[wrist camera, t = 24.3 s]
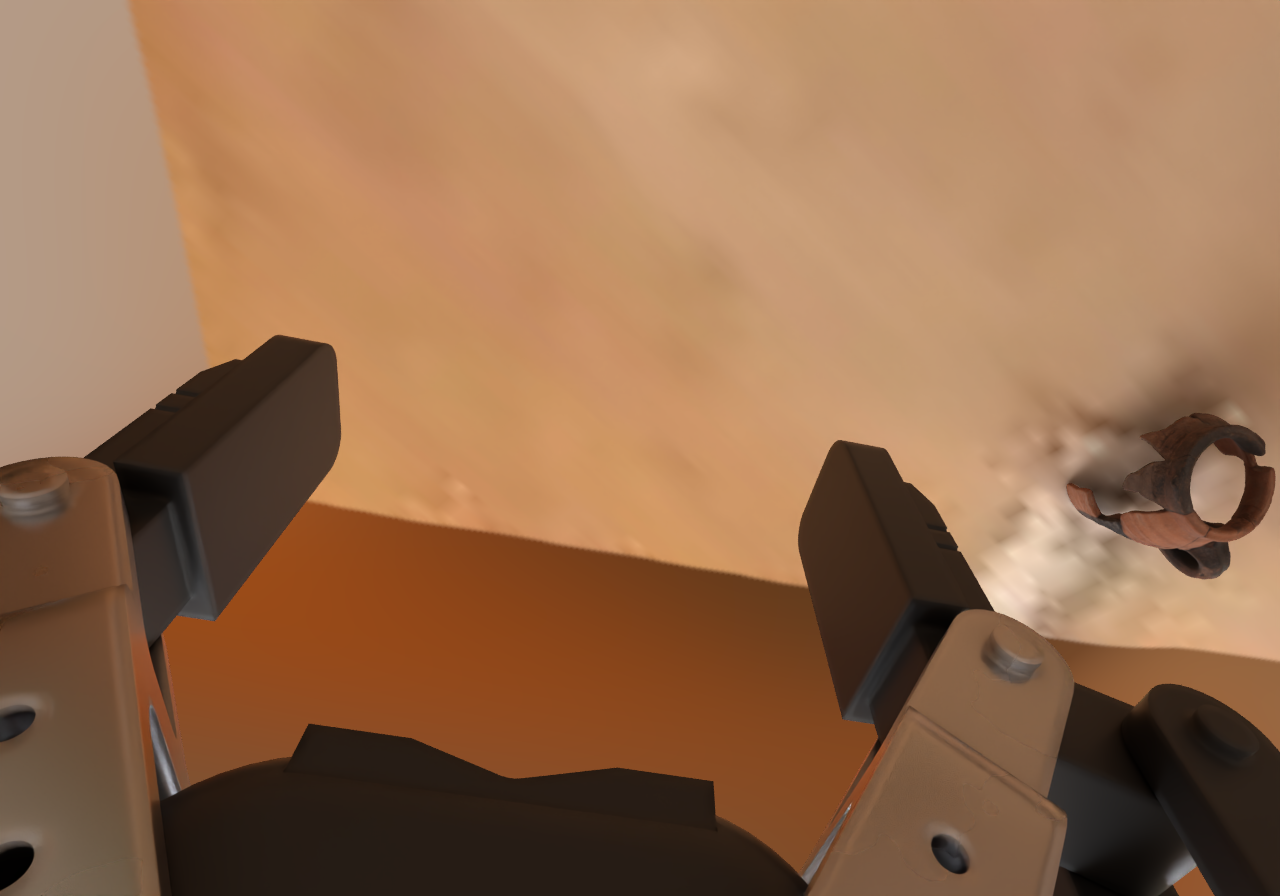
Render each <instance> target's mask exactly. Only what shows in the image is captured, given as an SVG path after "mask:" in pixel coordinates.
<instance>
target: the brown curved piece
mask: <svg viewBox="0 0 1280 896" xmlns="http://www.w3.org/2000/svg"><path fill="white" fill-rule="evenodd" d="M1140 438H1141V439H1142V440H1145V441H1147V442H1148V443H1149V444H1151V445H1152V446H1153V448H1154V449H1155V450H1156V451H1157V452H1158V453H1159V454H1160V455H1161V456H1162V457H1163V458H1164V459H1165V460H1164V461H1159V462H1152V463H1150V464H1148V465H1146V466H1144V467H1143V468H1141V469H1140V470H1138V471H1137V472H1134V473H1131V474H1129V475H1128V476H1127V477H1126V479H1125V481H1124V483H1123V489H1124V490H1129V491H1132V492H1139V493H1140V494H1141V495H1142V496H1144V497H1145V498H1147V499H1149V500H1151V501H1154V502H1155V503H1157V504H1158V505H1160V506H1162V507H1163V508H1164V509H1163V510H1158V511H1147V512H1146V511H1130V512H1128V513H1123V514H1120V513H1118V514H1114V515H1110V516H1106V515H1104V514H1102V513H1101V512H1100V510H1099V508H1098V506H1097V504H1096V501H1095V498H1094V495H1093V492H1092V491H1091V490H1090V489H1087V488H1079V487H1078V486H1077V485H1075V484H1072V483H1069V484H1067V491H1068V495H1069V498H1070V500H1071V502H1072V503H1073V505H1074V506H1075V508H1077V510H1078V511H1079V512H1080V513H1081V514H1082V515H1084V516H1085V517H1087V518H1089V519H1091V520H1093V521H1095V522H1096V523H1098V524H1099V525H1103V526H1105V527H1107V528H1109V529H1111V530H1113V531H1114V532H1116V533H1117V534H1121V535H1123V536H1124V537H1126V538H1129V539H1131V540H1134V541H1136V542H1139V543H1141V544H1144V545H1148V546H1153V547H1156V548H1159V550H1160V551H1161V552H1162V554H1163V555H1164V556H1165V557H1166V559H1167V560H1168V561H1169V562H1170V563H1171V564H1172V565H1173V566H1175V567H1176V568H1177V569H1178V570H1179V571H1181V572H1182V573H1184V574H1185V575H1187V576H1190V577H1193V578H1200V579H1214V578H1217V577H1218V576H1220V575H1221V574H1222V573H1223V572H1224V571H1225V570H1227V569H1228V567H1229V565H1230V552H1229V546H1228V542H1229V541H1233V540H1237V539H1239V538H1241V537H1243V536H1245V535H1247V534H1248V533H1250V532H1251V531H1252V530H1254V529H1255V527H1256V526H1257V525H1259V523H1260V522H1261V520H1262V519H1263V517H1264V516H1265V514H1266V512H1267V511H1268V509H1269V506H1270V504H1271V501H1272V496H1273V494H1274V488H1275V471H1274V468H1272V467H1266V466H1258V465H1257V463H1256V459H1255V456H1254V455H1257V456H1263V455H1264V454H1265V452H1266V451H1265V442H1264V440H1263V439H1262V438H1260V436H1259V435H1257V434H1256V433H1254V432H1252V431H1251V430H1250V429H1248V428H1246V427H1243V426H1240V425H1230V424H1229V423H1227V422H1226V421H1224V420H1223V419H1221V418H1219V417H1216V416H1214V415H1210V414H1202V413H1193V414H1191V415H1190V416H1189V417H1182V418H1181V419H1179V420H1177V421H1176V422H1175V423H1174V424H1172V425H1170V426H1169V427H1167V428H1166V429H1163V430H1160V431H1157V432H1150V433H1147V434H1144V435H1141V436H1140ZM1212 443H1214V445H1215V446H1216V447H1217V448H1218V449H1219V451H1220V452H1222V453H1223V454H1225V455H1234V456H1237V457H1239V458H1240V459H1242V460H1243V461H1244V466H1245V489H1244V494H1243V496H1242V499H1241V502H1240V504H1239V507H1238V509H1237V510H1236V512H1235V513H1234V515H1233V516H1232V517H1231V520H1230V521H1228V522H1227V523H1226V524H1225V525H1224V524H1222V523H1209V522H1206V521H1202V520H1201V519H1200V517H1199V516H1198V515H1197V513H1196V512H1195V511H1194V510H1193V505H1192V501H1191V496H1190V482H1191V475H1192V471H1193V468H1194V466H1195V463H1196V461H1197V460H1198V458H1199V457H1200V455H1201V453H1202V452H1203V451H1204V450H1205V449H1206V448H1207V447H1208V446H1209V445H1210V444H1212Z"/></svg>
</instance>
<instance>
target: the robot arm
mask: <svg viewBox="0 0 1280 896" xmlns="http://www.w3.org/2000/svg"><path fill="white" fill-rule="evenodd" d="M340 440H341V423H340V406H339V390H338V373H337V359H336V354H335V351H334V349H333V347H332V346H331V345H329V344H326V343H320V342H315V341H310V340H304V339H299V338H294V337H288V336H283V335H276V336H274V337H272V338H271V339H269V340H268V341H267V342H266V343H264V344H263V345H262V346H260V347H259V348H258V349H257V350H255V351H254V352H253V353H251V354H250V355H249V356H248V357H246V358H245V359H244V360H237V359H235V360H232V361H229V362H227V363H224V364H221V365H218V366H215V367H213V368H210V369H207V370H205V371H202V372H200V373H198V374H197V375H196V376H194V377H193V378H192V379H190V380H189V381H188V382H186V383H185V384H183V385H182V386H181V387H179V388H178V389H177V390H176V394H173V393H171V394H170V395H168V396H167V397H166V398H164V399H163V400H162V401H160V402H159V403H158V404H156V408H155V409H149V410H148V411H147V412H146V413H144V414H143V415H141V416H140V417H139V418H137V419H136V420H134V421H133V422H132V423H130V424H129V425H128V426H127V427H125V428H123V429H122V430H121V431H119V432H118V433H117V434H115V435H114V436H113V437H111V438H110V439H109V440H107V441H106V442H104V443H103V444H102V445H100V446H99V447H98V448H97V449H95V450H94V451H92V452H91V453H89V454H88V455H87V456H85V457H84V458H78V457H48V458H38V459H32V460H27V461H22V462H17V463H13V464H9V465H6V466H3V467H0V896H1179V895H1178V894H1177V892H1176V890H1175V888H1174V886H1173V884H1174V883H1175V882H1177V881H1178V880H1179V879H1181V878H1182V877H1183V876H1184V875H1186V874H1187V873H1188V872H1190V871H1191V870H1192V869H1193V868H1195V867H1196V866H1198V868H1199V870H1200V872H1201V873H1202V875H1203V877H1204V878H1205V880H1206V882H1207V883H1208V885H1209V887H1210V889H1211V890H1212V892H1213V894H1214V895H1215V896H1280V752H1279V751H1278V749H1276V747H1275V746H1274V745H1273V744H1272V743H1271V741H1270V740H1269V739H1268V738H1267V737H1266V736H1265V735H1264V734H1263V733H1262V732H1261V731H1260V730H1258V729H1257V728H1256V727H1255V726H1254V725H1253V724H1251V723H1250V722H1249V721H1248V720H1246V719H1245V718H1244V717H1243V716H1241V715H1240V714H1238V713H1237V712H1236V711H1234V710H1233V709H1231V708H1230V707H1228V706H1227V705H1225V704H1223V703H1222V702H1220V701H1218V700H1216V699H1214V698H1213V697H1210V696H1208V695H1206V694H1204V693H1202V692H1200V691H1197V690H1194V689H1192V688H1189V687H1185V686H1181V685H1175V684H1161V685H1157V686H1155V687H1154V688H1152V689H1151V690H1150V691H1149V692H1148V694H1146V695H1145V697H1144V698H1143V699H1142V700H1141V701H1140V702H1139V703H1138V704H1137V705H1136V706H1135V707H1134V706H1132V705H1129V704H1127V703H1124V702H1122V701H1119V700H1117V699H1114V698H1112V697H1109V696H1107V695H1104V694H1102V693H1100V692H1097V691H1095V690H1092V689H1090V688H1087V687H1085V686H1082V685H1080V684H1077V683H1075V682H1074V680H1073V676H1072V673H1071V671H1070V668H1069V667H1068V665H1067V663H1066V662H1065V660H1064V659H1063V657H1062V656H1061V655H1060V654H1059V652H1058V651H1057V650H1056V649H1055V648H1054V647H1053V646H1052V645H1051V644H1050V643H1049V642H1048V641H1046V640H1045V639H1044V638H1043V637H1042V636H1041V635H1039V634H1038V633H1037V632H1035V631H1034V630H1032V629H1031V628H1029V627H1028V626H1026V625H1024V624H1023V623H1021V622H1019V621H1017V620H1015V619H1013V618H1011V617H1008V616H1006V615H1003V614H1000V613H997V612H995V611H994V609H993V608H992V606H991V604H990V602H989V601H988V599H987V597H986V595H985V594H984V592H983V590H982V588H981V587H980V585H979V583H978V581H977V579H976V578H975V576H974V574H973V572H972V571H971V569H970V567H969V565H968V564H967V562H966V560H965V558H964V557H963V555H962V553H961V552H959V551H957V548H958V546H957V544H956V543H955V541H954V539H953V537H952V536H951V534H950V532H947V527H946V525H945V523H944V521H943V520H942V518H941V516H940V514H939V513H938V511H937V509H936V507H935V506H934V505H933V504H932V503H931V502H930V501H929V500H928V499H927V498H926V497H925V496H924V495H923V494H922V493H921V492H920V491H918V490H917V489H916V488H915V487H914V486H913V485H912V484H911V483H906V482H903V480H902V478H901V476H900V474H899V472H898V470H897V468H896V467H895V465H894V463H893V461H892V459H891V457H890V455H889V453H888V452H887V450H885V449H884V448H880V447H875V446H869V445H864V444H858V443H853V442H848V441H842V440H838V441H836V442H835V443H834V444H833V445H832V447H831V448H830V450H829V452H828V454H827V457H826V459H825V462H824V464H823V466H822V469H821V471H820V474H819V476H818V479H817V481H816V483H815V486H814V488H813V491H812V493H811V495H810V498H809V500H808V503H807V505H806V507H805V510H804V512H803V515H802V518H801V522H800V527H799V535H798V546H799V553H800V556H801V560H802V564H803V568H804V572H805V576H806V580H807V583H808V587H809V591H810V595H811V599H812V602H813V607H814V611H815V614H816V618H817V622H818V626H819V630H820V634H821V638H822V641H823V645H824V649H825V653H826V657H827V661H828V665H829V668H830V672H831V676H832V680H833V684H834V688H835V692H836V696H837V699H838V703H839V707H840V711H841V715H842V719H844V720H850V721H858V722H864V723H870V724H874V725H875V728H876V731H877V735H878V738H877V740H876V742H875V743H874V745H873V746H872V748H871V749H870V751H869V753H868V754H867V756H866V758H865V760H864V761H863V763H862V765H861V767H860V768H859V770H858V772H857V774H856V775H855V777H854V779H853V781H852V783H851V784H850V786H849V788H848V789H847V791H846V793H845V795H844V797H843V798H842V800H841V802H840V804H839V806H838V807H837V809H836V811H835V813H834V814H833V816H832V818H831V819H830V821H829V823H828V825H827V827H826V828H825V830H824V832H823V833H822V835H821V837H820V839H819V840H818V842H817V844H816V846H815V847H814V849H813V851H812V852H811V854H810V856H809V858H808V859H807V861H806V862H805V864H804V866H803V867H802V869H801V871H800V872H799V874H798V873H797V872H796V871H795V870H794V869H793V868H792V867H791V866H790V865H789V864H788V863H787V862H786V861H785V860H784V859H782V858H781V857H780V856H779V855H778V854H777V853H776V852H774V851H773V850H772V849H771V848H770V847H768V846H767V845H766V844H764V843H763V842H762V841H760V840H759V839H757V838H756V837H755V836H753V835H752V834H750V833H749V832H747V831H745V830H744V829H742V828H740V827H738V826H736V825H735V824H733V823H731V822H729V821H727V820H725V819H723V818H721V817H718V816H716V815H715V801H714V786H713V781H707V780H699V779H693V778H686V777H679V776H672V775H665V774H658V773H651V772H644V771H637V770H630V769H623V768H610V769H602V770H592V771H584V772H575V773H566V774H557V775H548V776H539V777H530V778H521V779H513V778H506V777H503V776H500V775H498V774H495V773H493V772H491V771H488V770H486V769H483V768H481V767H479V766H476V765H474V764H471V763H469V762H467V761H464V760H462V759H460V758H457V757H455V756H452V755H450V754H448V753H445V752H443V751H440V750H438V749H436V748H433V747H431V746H428V745H426V744H424V743H422V742H419V741H417V740H414V739H412V738H406V737H398V736H392V735H385V734H378V733H371V732H364V731H357V730H350V729H342V728H336V727H328V726H321V725H315V724H308V726H307V728H306V730H305V732H304V734H303V736H302V738H301V740H300V742H299V744H298V746H297V748H296V750H295V751H294V754H293V756H292V757H287V758H278V759H273V760H269V761H263V762H259V763H254V764H249V765H246V766H243V767H240V768H237V769H233V770H230V771H227V772H224V773H220V774H218V775H215V776H213V777H211V778H208V779H206V780H204V781H201V782H198V783H196V784H194V785H191V786H190V782H189V777H188V773H187V768H186V763H185V757H184V752H183V746H182V739H181V733H180V727H179V721H178V715H177V709H176V703H175V697H174V691H173V684H172V678H171V672H170V666H169V660H168V654H167V648H166V644H165V641H164V637H163V631H164V630H165V629H166V628H167V627H168V625H169V624H170V623H171V622H172V621H173V619H174V618H175V617H176V616H177V615H178V616H185V617H191V618H198V619H204V620H210V621H215V620H216V619H217V617H218V616H219V615H220V614H221V612H222V611H223V610H224V609H225V607H226V606H227V605H228V603H229V602H230V601H231V599H232V598H233V597H234V595H235V594H236V593H237V591H238V590H239V589H240V588H241V586H242V585H243V584H244V582H245V581H246V580H247V578H248V577H249V576H250V574H251V573H252V572H253V571H254V569H255V568H256V567H257V565H258V564H259V563H260V561H261V560H262V559H263V557H264V556H265V555H266V553H267V552H268V551H269V550H270V548H271V547H272V546H273V544H274V543H275V542H276V540H277V539H278V538H279V536H280V535H281V534H282V532H283V531H284V530H285V529H286V527H287V526H288V525H289V523H290V522H291V521H292V519H293V518H294V517H295V515H296V514H297V513H298V512H299V510H300V509H301V507H302V506H303V505H304V504H305V502H306V501H307V500H308V498H309V497H310V496H311V494H312V493H313V492H314V491H315V489H316V488H317V487H318V485H319V484H320V483H321V481H322V480H323V479H324V477H325V476H326V475H327V473H328V472H329V471H330V469H331V468H332V466H333V464H334V462H335V460H336V457H337V454H338V450H339V446H340Z"/></svg>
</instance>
